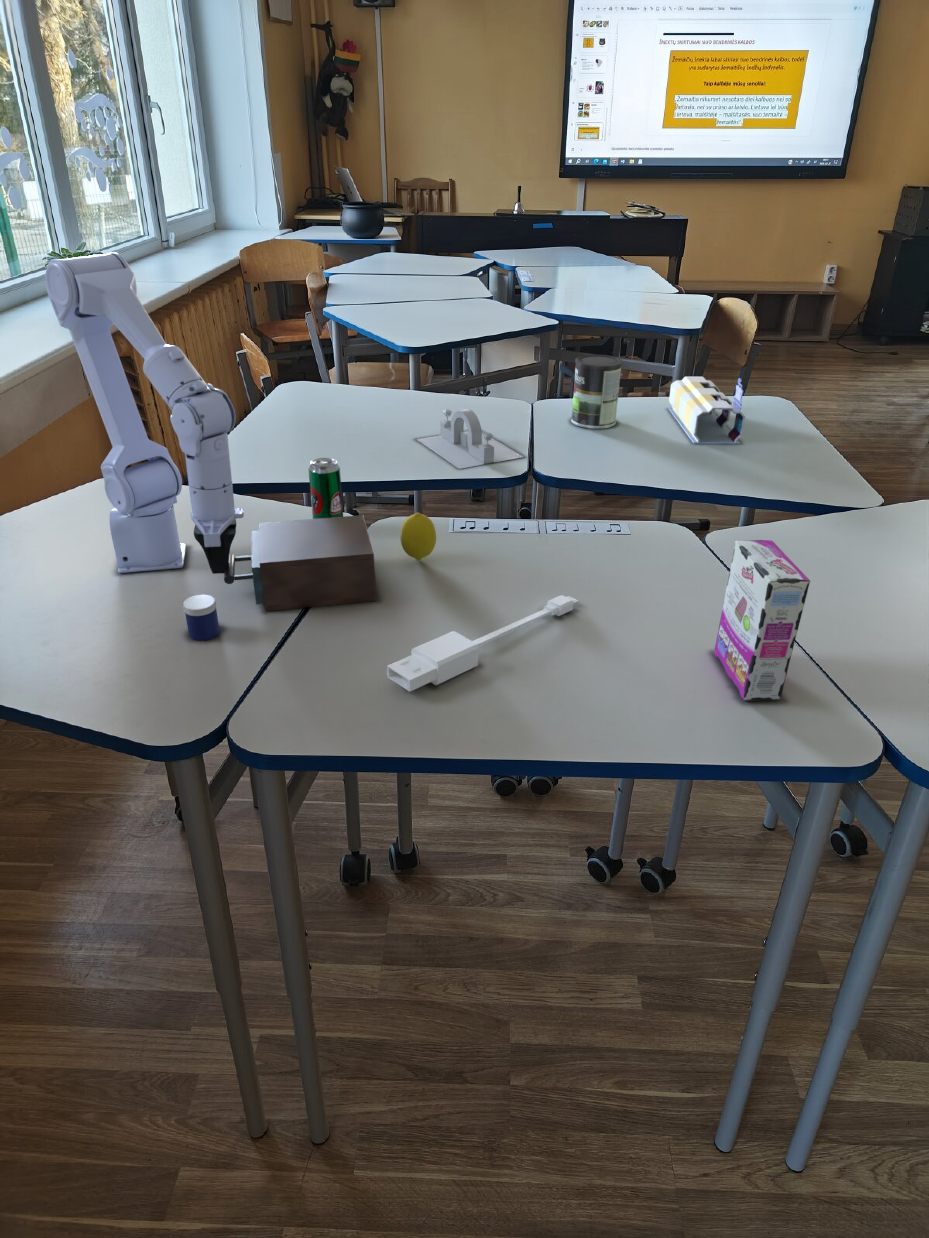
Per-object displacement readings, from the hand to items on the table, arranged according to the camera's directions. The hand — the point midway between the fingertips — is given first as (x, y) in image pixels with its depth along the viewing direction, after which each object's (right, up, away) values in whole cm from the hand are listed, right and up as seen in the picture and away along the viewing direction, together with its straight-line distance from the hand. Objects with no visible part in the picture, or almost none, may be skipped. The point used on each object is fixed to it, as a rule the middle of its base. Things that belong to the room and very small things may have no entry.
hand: (220, 571), depth 123 cm
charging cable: (+39, -11, -10) cm, 41 cm away
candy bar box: (+71, -14, -16) cm, 74 cm away
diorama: (+89, +37, +72) cm, 121 cm away
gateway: (+36, +29, +57) cm, 74 cm away
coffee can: (+65, +38, +73) cm, 105 cm away
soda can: (+12, +8, +21) cm, 26 cm away
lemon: (+28, +2, +12) cm, 30 cm away
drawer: (+10, -1, +3) cm, 10 cm away
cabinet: (+13, -2, +4) cm, 14 cm away
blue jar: (0, -9, -8) cm, 12 cm away
